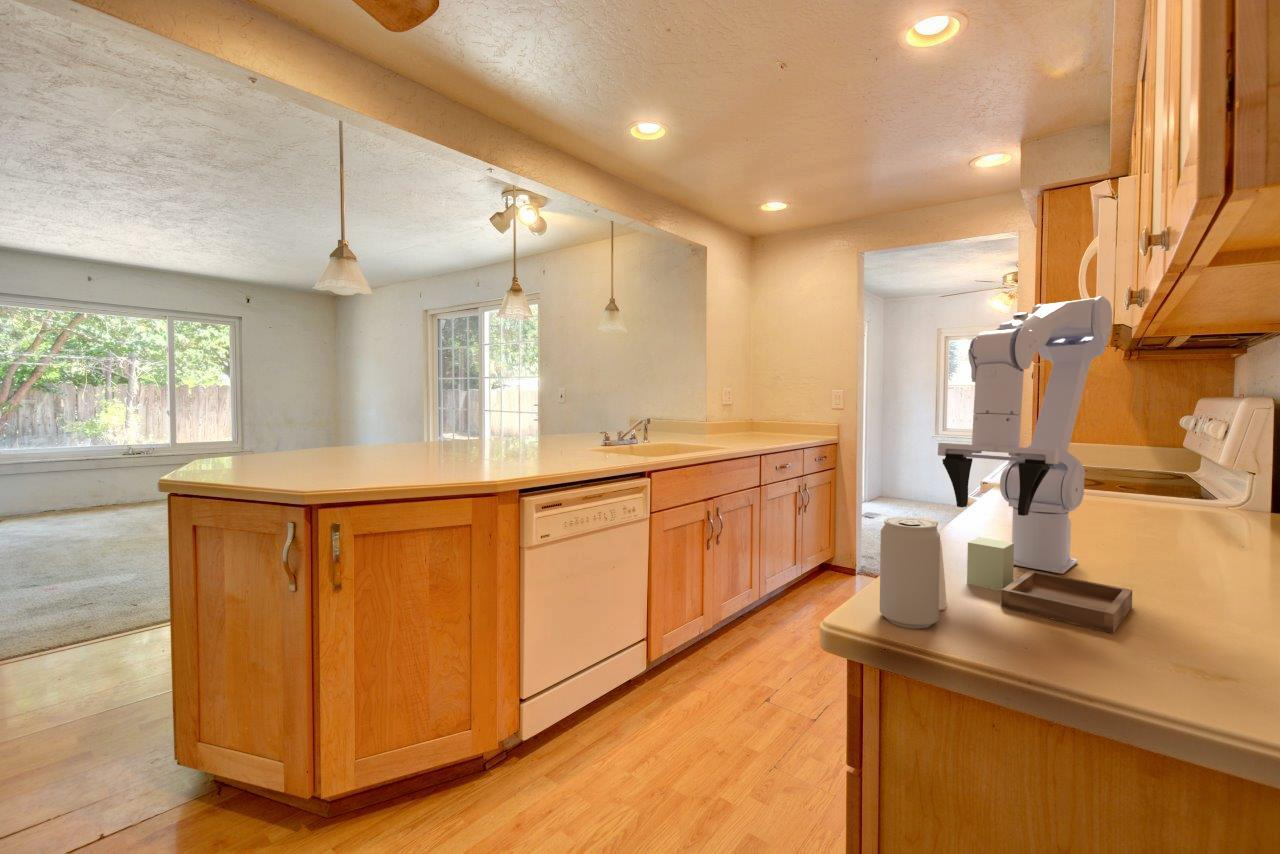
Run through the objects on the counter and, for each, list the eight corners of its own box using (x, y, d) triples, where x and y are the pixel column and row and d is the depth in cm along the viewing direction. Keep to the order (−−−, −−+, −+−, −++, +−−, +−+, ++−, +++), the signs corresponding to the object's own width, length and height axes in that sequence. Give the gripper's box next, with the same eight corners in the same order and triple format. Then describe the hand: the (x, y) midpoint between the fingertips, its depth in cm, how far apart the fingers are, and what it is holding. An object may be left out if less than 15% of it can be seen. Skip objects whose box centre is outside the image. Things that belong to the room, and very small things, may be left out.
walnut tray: (1029, 585, 79) (1029, 570, 79) (1131, 606, 71) (1132, 589, 71) (1001, 606, 71) (1001, 589, 71) (1112, 633, 63) (1113, 614, 63)
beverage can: (877, 625, 66) (878, 524, 65) (881, 607, 72) (883, 513, 71) (938, 635, 63) (940, 529, 62) (938, 615, 69) (940, 518, 68)
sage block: (978, 577, 84) (979, 537, 83) (1013, 584, 80) (1014, 542, 80) (966, 583, 81) (967, 542, 80) (1002, 591, 77) (1003, 548, 77)
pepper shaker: (896, 595, 76) (897, 514, 75) (939, 597, 75) (941, 515, 74) (907, 610, 71) (909, 523, 70) (954, 612, 70) (956, 524, 69)
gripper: (931, 412, 82) (926, 504, 82) (1051, 414, 71) (1045, 521, 71) (950, 414, 87) (945, 502, 87) (1065, 417, 76) (1059, 517, 76)
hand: (991, 510), depth 80 cm, fingers open, 7 cm apart
